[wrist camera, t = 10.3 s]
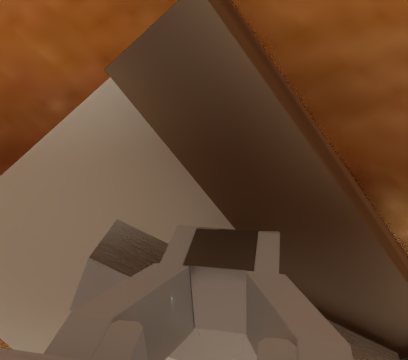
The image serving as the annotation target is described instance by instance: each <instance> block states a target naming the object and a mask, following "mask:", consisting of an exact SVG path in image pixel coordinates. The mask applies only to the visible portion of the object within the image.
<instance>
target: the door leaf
mask: <svg viewBox="0 0 408 360" xmlns="http://www.w3.org/2000/svg"><path fill="white" fill-rule="evenodd" d="M117 219H118V220H120V221H122V222H124V223H126V224H128V225H130V226H132V227H134V228H137V229H139V230H141V231H143V232H145V233H147V234H149V235H151V236H153V237H155V238H157V239H160V240H162V241H164V242H166V243H168V244H169V242H170V240H171V238H172V236H173V234H174V232H175V230H176V228H177V227H178V226H179V225H183V226H197V227H209V228H221V229H233V230H235V228H234V227H233V226H232V225H231V223H230V222H229V221H228V220H227V219H226V217H225V216H224V215H223V214H222V212H221V211H220V210H219V209H218V208H217V206H216V205H215V204H214V203H213V201H212V200H211V199H210V198H209V197H208V195H207V194H206V193H205V192H204V191H203V189H202V188H201V187H200V186H199V184H198V183H197V182H196V181H195V180H194V178H193V177H192V176H191V175H190V173H189V172H188V171H187V170H186V169H185V167H184V166H183V165H182V164H181V163H180V161H179V160H178V159H177V158H176V156H175V155H174V154H173V153H172V152H171V150H170V149H169V148H168V147H167V145H166V144H165V143H164V142H163V141H162V139H161V138H160V137H159V136H158V135H157V133H156V132H155V131H154V130H153V128H152V127H151V126H150V125H149V124H148V122H147V121H146V120H145V119H144V117H143V116H142V115H141V114H140V113H139V111H138V110H137V109H136V108H135V107H134V105H133V104H132V103H131V102H130V100H129V99H128V98H127V97H126V96H125V94H124V93H123V92H122V91H121V89H120V88H119V87H118V86H117V85H116V83H115V82H114V81H113V80H112V79H111V77H110V78H109V79H108V80H106V81H105V82H104V83H103V84H102V85H101V86H100V87H99V88H98V89H96V90H95V91H94V92H93V93H92V94H91V95H90V96H89V97H88V98H86V99H85V100H84V101H83V102H82V103H81V104H80V105H79V106H78V107H76V108H75V109H74V110H73V111H72V112H71V113H70V114H69V115H68V116H66V117H65V118H64V119H63V120H62V121H61V122H60V123H59V124H58V125H56V126H55V127H54V128H53V129H52V130H51V131H50V132H49V133H48V134H46V135H45V136H44V137H43V138H42V139H41V140H40V141H39V142H38V143H36V144H35V145H34V146H33V147H32V148H31V149H30V150H29V151H28V152H26V153H25V154H24V155H23V156H22V157H21V158H20V159H19V160H18V161H17V162H15V163H14V164H13V165H12V166H11V167H10V168H9V169H8V170H7V171H5V172H4V173H3V174H2V175H1V176H0V339H1V340H3V341H4V342H5V343H6V344H7V345H8V346H9V347H11V348H12V349H13V350H19V351H27V352H34V353H41V354H43V353H44V352H45V350H46V349H47V347H48V346H49V344H50V343H51V341H52V340H53V338H54V337H55V335H56V334H57V332H58V331H59V329H60V328H61V326H62V325H63V323H64V322H65V320H66V319H67V317H68V316H69V314H70V313H71V312H72V311H70V310H69V309H70V307H71V304H72V301H73V298H74V296H75V293H76V290H77V288H78V285H79V282H80V280H81V277H82V274H83V272H84V269H85V266H86V264H87V261H88V258H89V257H90V255H91V254H92V252H93V251H94V250H95V248H96V247H97V246H98V244H99V243H100V242H101V240H102V239H103V237H104V236H105V235H106V233H107V232H108V231H109V229H110V228H111V226H112V225H113V224H114V222H115V221H116V220H117ZM165 360H175V359H173V358H170V357H167V358H166V359H165Z"/></svg>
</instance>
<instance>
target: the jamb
mask: <svg viewBox="0 0 408 360" xmlns="http://www.w3.org/2000/svg"><path fill="white" fill-rule="evenodd" d="M104 70H105V71H106V72H107V74H108V75H109V76H110V77H111V79H112V80H113V81H114V82H115V83H116V85H117V86H118V87H119V88H120V89H121V91H122V92H123V93H124V94H125V96H126V97H127V98H128V99H129V100H130V102H131V103H132V104H133V105H134V107H135V108H136V109H137V110H138V111H139V113H140V114H141V115H142V116H143V117H144V119H145V120H146V121H147V122H148V124H149V125H150V126H151V127H152V128H153V130H154V131H155V132H156V133H157V135H158V136H159V137H160V138H161V139H162V141H163V142H164V143H165V144H166V145H167V147H168V148H169V149H170V150H171V152H172V153H173V154H174V155H175V156H176V158H177V159H178V160H179V161H180V163H181V164H182V165H183V166H184V167H185V169H186V170H187V171H188V172H189V173H190V175H191V176H192V177H193V178H194V180H195V181H196V182H197V183H198V184H199V186H200V187H201V188H202V189H203V191H204V192H205V193H206V194H207V195H208V197H209V198H210V199H211V200H212V201H213V203H214V204H215V205H216V206H217V208H218V209H219V210H220V211H221V212H222V214H223V215H224V216H225V217H226V219H227V220H228V221H229V222H230V223H231V225H232V226H233V227H234V228H235V230H246V231H258V232H259V231H279V233H280V255H279V274H285V275H286V276H287V277H288V278H289V279H290V280H291V281H292V282H293V283H294V285H295V286H296V287H297V288H298V289H299V290H300V291H301V292H302V293H303V294H304V295H305V296H306V298H307V299H308V300H309V301H310V302H311V303H312V304H313V305H314V306H315V307H316V308H317V310H318V311H319V312H320V313H321V314H322V315H323V316H324V317H325V318H326V319H327V320H329V321H331V322H333V323H335V324H338V325H340V326H342V327H344V328H346V329H348V330H350V331H352V332H354V333H356V334H359V335H361V336H363V337H365V338H367V339H369V340H371V341H373V342H375V343H377V344H379V345H382V346H384V347H386V348H388V349H390V350H392V351H394V352H396V353H398V356H399V358H402V357H408V257H407V255H406V254H405V252H404V251H403V249H402V248H401V247H400V245H399V244H398V242H397V241H396V239H395V238H394V236H393V235H392V233H391V232H390V231H389V229H388V228H387V226H386V225H385V223H384V222H383V220H382V219H381V218H380V216H379V215H378V213H377V212H376V210H375V209H374V207H373V206H372V204H371V203H370V202H369V200H368V199H367V197H366V196H365V194H364V193H363V191H362V190H361V188H360V187H359V186H358V184H357V183H356V181H355V180H354V178H353V177H352V175H351V174H350V173H349V171H348V170H347V168H346V167H345V165H344V164H343V162H342V161H341V159H340V158H339V157H338V155H337V154H336V152H335V151H334V149H333V148H332V146H331V145H330V143H329V142H328V141H327V139H326V138H325V136H324V135H323V133H322V132H321V130H320V129H319V128H318V126H317V125H316V123H315V122H314V120H313V119H312V117H311V116H310V114H309V113H308V112H307V110H306V109H305V107H304V106H303V104H302V103H301V101H300V100H299V98H298V97H297V96H296V94H295V93H294V91H293V90H292V88H291V87H290V85H289V84H288V82H287V81H286V80H285V78H284V77H283V75H282V74H281V72H280V71H279V69H278V68H277V67H276V65H275V64H274V62H273V61H272V59H271V58H270V56H269V55H268V53H267V52H266V51H265V49H264V48H263V46H262V45H261V43H260V42H259V40H258V39H257V37H256V36H255V35H254V33H253V32H252V30H251V29H250V27H249V26H248V24H247V23H246V22H245V20H244V19H243V17H242V16H241V14H240V13H239V11H238V10H237V8H236V7H235V6H234V4H233V3H232V1H231V0H179V1H178V2H177V3H176V4H174V5H173V6H172V7H171V8H170V9H169V10H168V11H167V12H166V13H165V14H164V15H162V16H161V17H160V18H159V19H158V20H157V21H156V22H155V23H154V24H153V25H152V26H151V27H149V28H148V29H147V30H146V31H145V32H144V33H143V34H142V35H141V36H140V37H139V38H138V39H136V40H135V41H134V42H133V43H132V44H131V45H130V46H129V47H128V48H127V49H126V50H124V51H123V52H122V53H121V54H120V55H119V56H118V57H117V58H116V59H115V60H114V61H113V62H111V63H110V64H109V65H108V66H107V67H106V68H105V69H104Z"/></svg>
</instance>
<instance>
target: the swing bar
mask: <svg viewBox="0 0 408 360" xmlns="http://www.w3.org/2000/svg"><path fill="white" fill-rule="evenodd" d="M168 245H169V244H168V243H166V242H164V241H162V240H160V239H157V238H155V237H153V236H151V235H149V234H147V233H145V232H143V231H141V230H139V229H137V228H134V227H132V226H130V225H128V224H126V223H124V222H122V221H120V220H118V219H117V220H116V221H115V222H114V224H113V225H112V226H111V228H110V229H109V231H108V232H107V233H106V235H105V236H104V237H103V239H102V240H101V242H100V243H99V244H98V246H97V247H96V248H95V250H94V251H93V252H92V254H91V255H90V257H89V258H88V261H87V264H86V266H85V269H84V272H83V274H82V277H81V280H80V282H79V285H78V288H77V290H76V293H75V296H74V298H73V301H72V304H71V307H70V309H69V310H70V311H74V310H76V309H77V308H79V307H81V306H82V305H84V304H86V303H87V302H89V301H91V300H93V299H94V298H96V297H98V296H99V295H101V294H103V293H104V292H106V291H108V290H109V289H111V288H113V287H115V286H116V285H118V284H120V283H121V282H123V281H125V280H126V279H128V278H130V277H132V276H133V275H135V274H137V273H138V272H140V271H142V270H143V269H145V268H147V267H148V266H150V265H152V264H154V263H159V264H160V262H161V260H162V258H163V255H164V253H165V251H166V249H167V247H168ZM328 321H329V320H328ZM329 323H330V324H331V325H332V326H333V327H334V328H335V329H336V330H337V331H338V332H339V333H340V335H341V336H342V337H343V338H344V339H345V340H346V341H347V342H348V343H349V344H350V345H351V350H352V356H353V360H408V357H402V358H399V356H398V353H396V352H394V351H392V350H390V349H388V348H386V347H384V346H382V345H379V344H377V343H375V342H373V341H371V340H369V339H367V338H365V337H363V336H361V335H359V334H356V333H354V332H352V331H350V330H348V329H346V328H344V327H342V326H340V325H338V324H335V323H333V322H331V321H329ZM168 357H170V358H173V359H175V360H257V356H256V354H255V352H254V350H253V348H252V346H251V344H250V342H249V340H248V338H247V336H246V334H240V333H233V332H226V331H218V330H207V329H196V328H194V331H193V332H192V333H191V334H190V335H189V336H188V337H187V338H186V339H185V340H184V341H183V342H182V343H181V344H180V345H179V346H178V347H177V348H176V349H175V350H174V351H173V352H172V353H171V354H170V355H169V356H168Z"/></svg>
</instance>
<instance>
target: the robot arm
mask: <svg viewBox="0 0 408 360" xmlns="http://www.w3.org/2000/svg"><path fill="white" fill-rule="evenodd" d="M279 255H280V233H279V231H259V232H258V231H246V230H233V229H221V228H209V227H197V226H183V225H179V226H178V227H177V228H176V230H175V232H174V234H173V236H172V238H171V240H170V242H169V245H168V247H167V249H166V251H165V253H164V255H163V258H162V260H161V262H160V264H159V263H154V264H152V265H150V266H148V267H147V268H145V269H143V270H142V271H140V272H138V273H137V274H135V275H133V276H132V277H130V278H128V279H126V280H125V281H123V282H121V283H120V284H118V285H116V286H115V287H113V288H111V289H109V290H108V291H106V292H104V293H103V294H101V295H99V296H98V297H96V298H94V299H93V300H91V301H89V302H87V303H86V304H84V305H82V306H81V307H79V308H77V309H76V310H74V311H72V312H71V313H70V314H69V316H68V317H67V319H66V320H65V322H64V323H63V325H62V326H61V328H60V329H59V331H58V332H57V334H56V335H55V337H54V338H53V340H52V341H51V343H50V344H49V346H48V347H47V349H46V350H45V352H44V353H43V354H41V353H34V352H27V351H19V350H12V349H5V348H0V360H165V359H166V358H167V357H168V356H169V355H170V354H171V353H172V352H173V351H174V350H175V349H176V348H177V347H178V346H179V345H180V344H181V343H182V342H183V341H184V340H185V339H186V338H187V337H188V336H189V335H190V334H191V333H192V332H193V331H194V328H196V329H207V330H218V331H226V332H233V333H240V334H246V336H247V338H248V340H249V342H250V344H251V346H252V348H253V350H254V352H255V354H256V356H257V360H353V356H352V350H351V345H350V344H349V343H348V342H347V341H346V340H345V339H344V338H343V337H342V336H341V335H340V333H339V332H338V331H337V330H336V329H335V328H334V327H333V326H332V325H331V324H330V323H329V321H328V320H327V319H326V318H325V317H324V316H323V315H322V314H321V313H320V312H319V311H318V310H317V308H316V307H315V306H314V305H313V304H312V303H311V302H310V301H309V300H308V299H307V298H306V296H305V295H304V294H303V293H302V292H301V291H300V290H299V289H298V288H297V287H296V286H295V285H294V283H293V282H292V281H291V280H290V279H289V278H288V277H287V276H286V275H285V274H279Z"/></svg>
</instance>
